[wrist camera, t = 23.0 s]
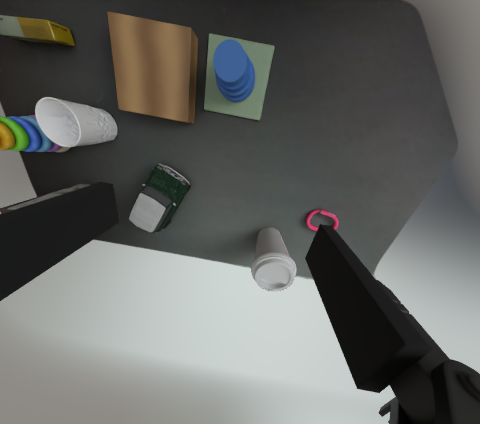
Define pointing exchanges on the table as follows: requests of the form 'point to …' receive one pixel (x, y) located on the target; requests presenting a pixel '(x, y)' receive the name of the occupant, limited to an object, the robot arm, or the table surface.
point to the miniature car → (158, 199)
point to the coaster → (254, 102)
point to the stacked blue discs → (233, 71)
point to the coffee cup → (272, 261)
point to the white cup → (74, 123)
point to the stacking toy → (25, 135)
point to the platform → (154, 67)
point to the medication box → (35, 30)
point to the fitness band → (321, 213)
